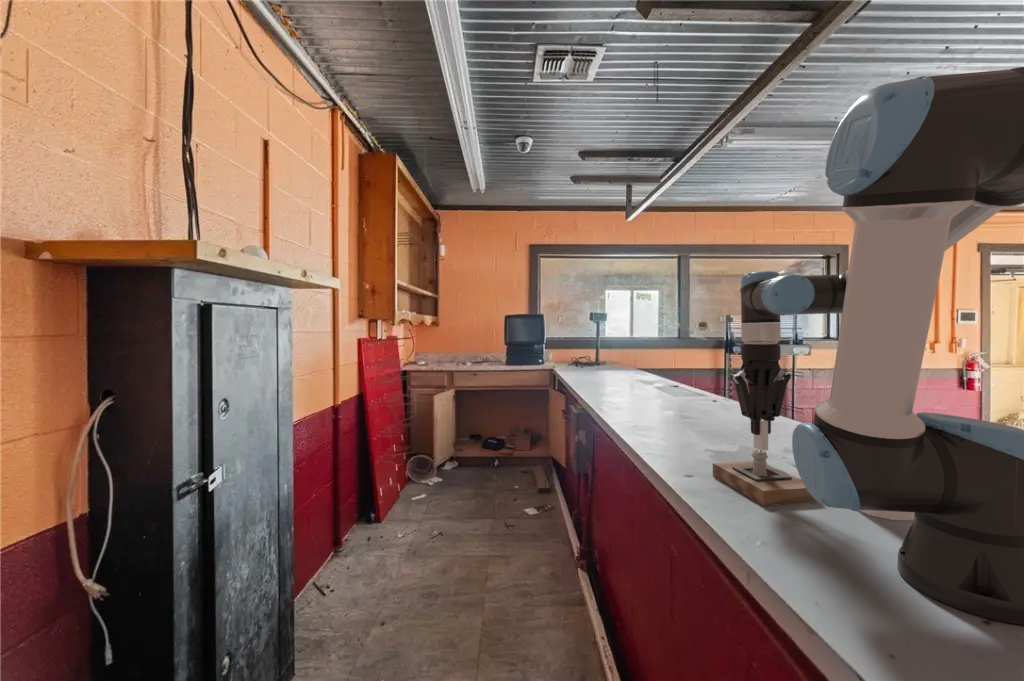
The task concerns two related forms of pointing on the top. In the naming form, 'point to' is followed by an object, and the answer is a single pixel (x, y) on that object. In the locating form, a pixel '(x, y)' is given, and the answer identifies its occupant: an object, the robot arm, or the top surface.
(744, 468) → the socket board
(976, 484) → the robot arm
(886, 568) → the top surface
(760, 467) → the rook chess piece
